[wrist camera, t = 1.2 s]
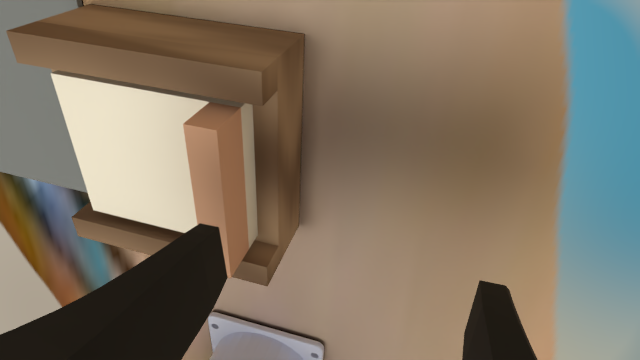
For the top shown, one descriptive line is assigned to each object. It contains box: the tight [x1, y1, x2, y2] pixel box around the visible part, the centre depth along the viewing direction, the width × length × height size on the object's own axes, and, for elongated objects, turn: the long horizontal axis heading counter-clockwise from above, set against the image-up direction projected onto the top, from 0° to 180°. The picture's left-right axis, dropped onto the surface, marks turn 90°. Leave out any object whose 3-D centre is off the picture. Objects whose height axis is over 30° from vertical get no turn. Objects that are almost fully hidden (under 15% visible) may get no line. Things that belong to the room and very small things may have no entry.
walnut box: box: [6, 4, 304, 286], centre depth 20 cm, size 10×10×4 cm
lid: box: [50, 70, 258, 278], centre depth 18 cm, size 7×8×3 cm
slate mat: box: [0, 0, 88, 193], centre depth 23 cm, size 12×10×1 cm
